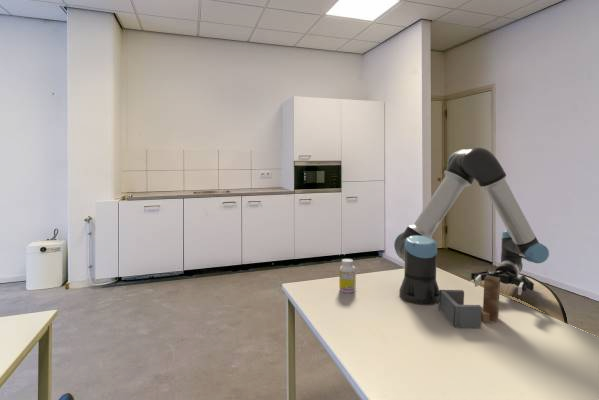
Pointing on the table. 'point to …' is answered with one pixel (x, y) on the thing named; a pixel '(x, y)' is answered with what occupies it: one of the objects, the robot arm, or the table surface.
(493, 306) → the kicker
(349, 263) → the supplement bottle
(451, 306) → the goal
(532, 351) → the table surface
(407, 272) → the robot arm
